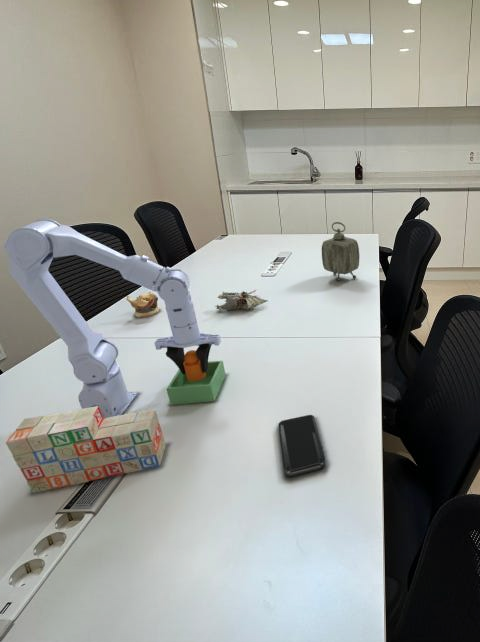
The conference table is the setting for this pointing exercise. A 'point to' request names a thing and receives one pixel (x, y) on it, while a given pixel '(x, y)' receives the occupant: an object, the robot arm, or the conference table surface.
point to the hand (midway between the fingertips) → (195, 371)
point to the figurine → (239, 301)
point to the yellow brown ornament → (144, 304)
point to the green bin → (197, 386)
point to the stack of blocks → (85, 446)
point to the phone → (301, 446)
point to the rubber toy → (193, 366)
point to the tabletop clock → (340, 254)
